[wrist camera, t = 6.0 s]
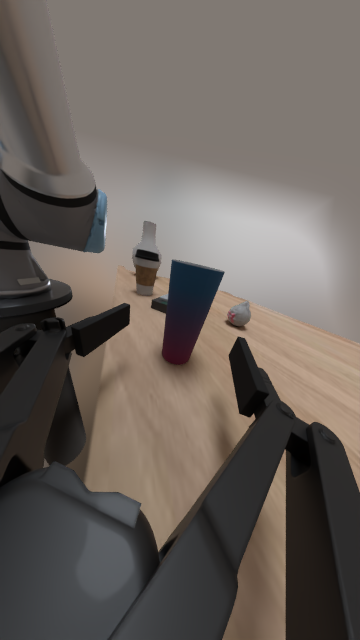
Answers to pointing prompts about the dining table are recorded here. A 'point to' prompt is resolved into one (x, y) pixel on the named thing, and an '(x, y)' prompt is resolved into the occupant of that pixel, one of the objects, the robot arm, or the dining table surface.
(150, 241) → the vase
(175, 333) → the cup
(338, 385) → the dining table surface
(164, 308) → the scale
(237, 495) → the robot arm
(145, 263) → the coffee cup
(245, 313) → the figurine
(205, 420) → the dining table surface
